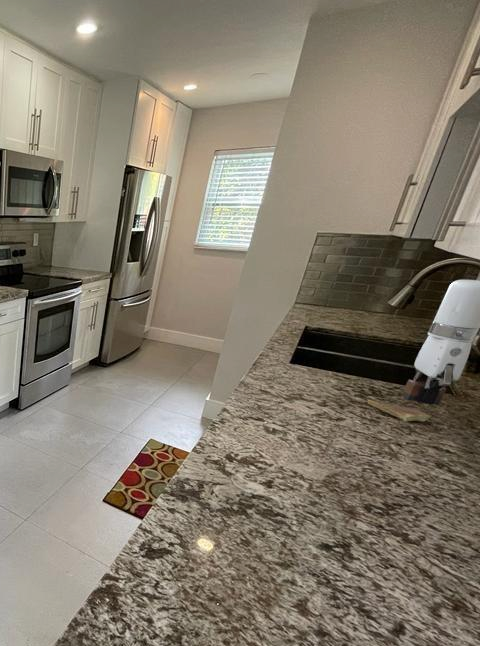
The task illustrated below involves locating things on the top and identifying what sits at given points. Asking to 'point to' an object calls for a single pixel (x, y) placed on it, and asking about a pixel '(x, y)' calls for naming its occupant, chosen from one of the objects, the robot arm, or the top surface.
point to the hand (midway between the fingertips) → (420, 399)
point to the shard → (399, 411)
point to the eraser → (418, 391)
